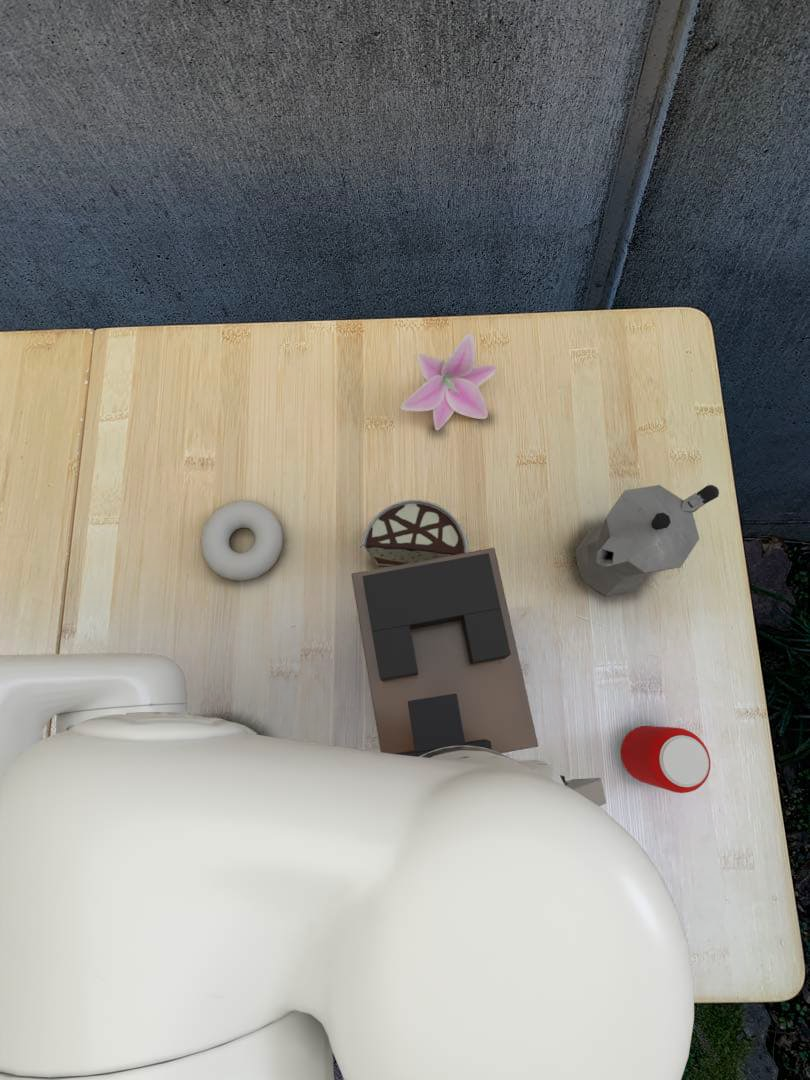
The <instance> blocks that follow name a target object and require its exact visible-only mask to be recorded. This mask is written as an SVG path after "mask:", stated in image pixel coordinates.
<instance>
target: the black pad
mask: <svg viewBox="0 0 810 1080" xmlns="http://www.w3.org/2000/svg"><path fill="white" fill-rule="evenodd" d="M363 583H364V589H365V595H366V600H367V606H368V612H369V618H370V624H371V630H372V636H373V642H374V648H375V653H376V659H377V665H378V671H379V677H380V680H382V681H386V680H391V679H397V678H402V677H407V676H413V675H418V669H417V664H416V658H415V653H414V647H413V642H412V636H411V631H410V629H415V628H421V627H426V626H431V625H437V624H442V623H448V622H453V621H458V620H461V621H462V626H463V631H464V636H465V641H466V646H467V651H468V656H469V661H470V664H477V663H482V662H487V661H493V660H498V659H503V658H506V657H508V656H510V655H511V652H510V648H509V643H508V639H507V634H506V629H505V625H504V620H503V616H502V611H501V607H500V602H499V598H498V593H497V588H496V584H495V579H494V575H493V570H492V566H491V561H490V556H489V553H486V554H480V555H475V556H469V557H464V558H459V559H453V560H448V561H442V562H437V563H431V564H426V565H420V566H415V567H409V568H404V569H398V570H393V571H387V572H382V573H376V574H371V575H365V576H363Z"/></svg>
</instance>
